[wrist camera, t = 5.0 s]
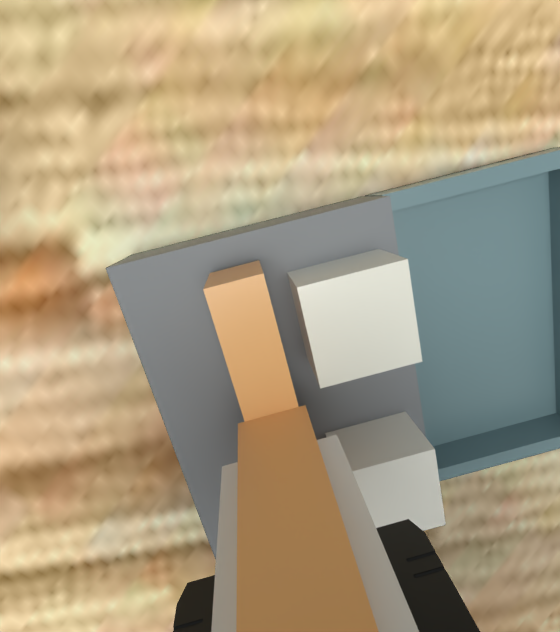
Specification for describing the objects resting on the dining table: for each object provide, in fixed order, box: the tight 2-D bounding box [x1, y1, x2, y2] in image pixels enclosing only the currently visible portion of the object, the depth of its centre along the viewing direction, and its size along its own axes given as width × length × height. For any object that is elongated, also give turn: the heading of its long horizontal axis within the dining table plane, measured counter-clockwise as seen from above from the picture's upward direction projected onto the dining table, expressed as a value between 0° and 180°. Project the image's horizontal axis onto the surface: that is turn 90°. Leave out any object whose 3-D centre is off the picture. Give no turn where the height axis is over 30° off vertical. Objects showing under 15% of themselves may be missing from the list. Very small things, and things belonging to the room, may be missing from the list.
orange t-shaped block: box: [203, 260, 379, 632], centre depth 12 cm, size 14×2×11 cm, turn 14°
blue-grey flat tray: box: [365, 147, 560, 481], centre depth 21 cm, size 16×10×2 cm, turn 14°
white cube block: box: [325, 412, 446, 531], centre depth 18 cm, size 4×4×3 cm
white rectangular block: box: [287, 249, 422, 389], centre depth 16 cm, size 4×4×3 cm
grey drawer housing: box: [106, 196, 426, 559], centre depth 20 cm, size 16×12×4 cm
